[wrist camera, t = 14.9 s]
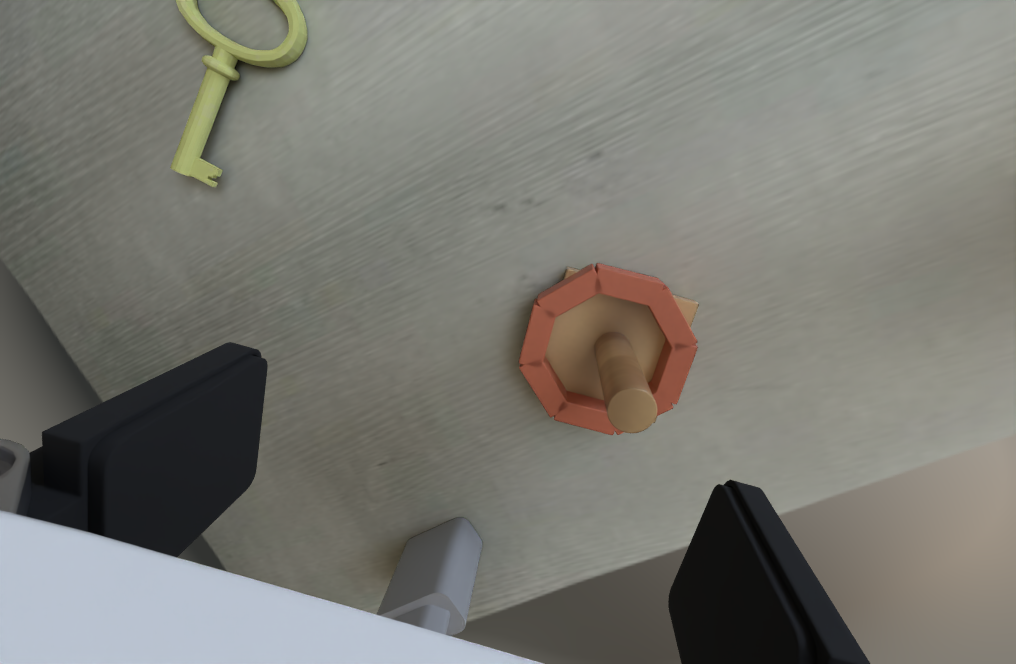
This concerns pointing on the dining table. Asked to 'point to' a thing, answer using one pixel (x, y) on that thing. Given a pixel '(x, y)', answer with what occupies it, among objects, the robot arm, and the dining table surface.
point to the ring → (575, 292)
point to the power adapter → (435, 578)
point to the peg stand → (612, 355)
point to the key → (226, 81)
